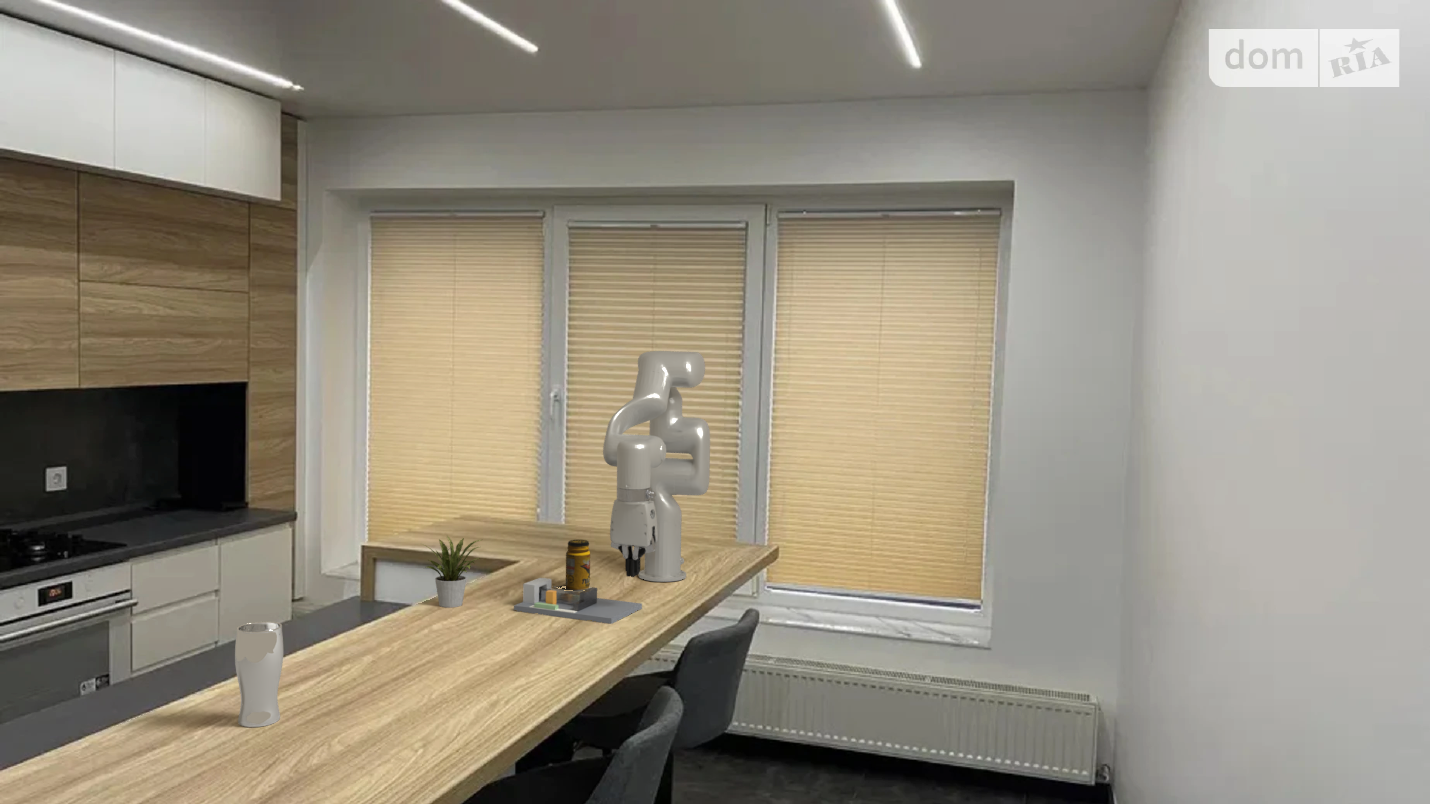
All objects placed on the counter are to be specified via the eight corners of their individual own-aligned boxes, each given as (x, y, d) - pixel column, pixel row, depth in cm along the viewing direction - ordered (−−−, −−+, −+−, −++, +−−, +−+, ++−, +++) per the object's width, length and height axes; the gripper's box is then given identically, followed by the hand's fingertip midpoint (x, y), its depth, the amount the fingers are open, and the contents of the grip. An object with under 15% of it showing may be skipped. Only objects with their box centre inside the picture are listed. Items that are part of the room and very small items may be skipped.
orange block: (549, 605, 235) (549, 589, 235) (556, 606, 235) (556, 590, 234) (545, 606, 234) (545, 591, 234) (552, 607, 233) (552, 592, 233)
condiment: (596, 590, 257) (596, 542, 257) (564, 593, 253) (565, 545, 252) (582, 584, 263) (583, 537, 263) (552, 587, 259) (553, 540, 258)
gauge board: (548, 596, 249) (548, 574, 248) (641, 608, 239) (642, 585, 239) (513, 610, 235) (514, 587, 234) (611, 623, 225) (611, 599, 225)
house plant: (500, 602, 242) (501, 533, 241) (462, 615, 230) (462, 542, 229) (451, 595, 248) (452, 527, 247) (411, 607, 236) (412, 536, 235)
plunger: (540, 595, 244) (540, 581, 244) (596, 602, 238) (597, 587, 238) (520, 603, 236) (520, 588, 236) (578, 611, 230) (578, 595, 230)
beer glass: (244, 713, 166) (244, 620, 165) (289, 712, 167) (289, 620, 166) (227, 728, 159) (227, 632, 158) (274, 728, 160) (274, 632, 159)
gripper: (670, 495, 231) (669, 575, 233) (611, 489, 237) (611, 567, 239) (656, 500, 225) (655, 583, 226) (595, 495, 230) (595, 575, 232)
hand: (632, 575), depth 233 cm, fingers closed
